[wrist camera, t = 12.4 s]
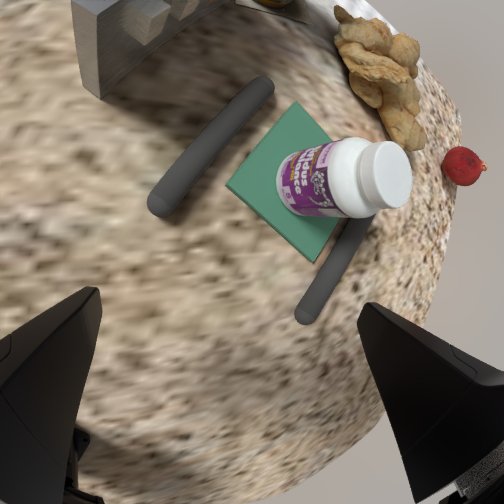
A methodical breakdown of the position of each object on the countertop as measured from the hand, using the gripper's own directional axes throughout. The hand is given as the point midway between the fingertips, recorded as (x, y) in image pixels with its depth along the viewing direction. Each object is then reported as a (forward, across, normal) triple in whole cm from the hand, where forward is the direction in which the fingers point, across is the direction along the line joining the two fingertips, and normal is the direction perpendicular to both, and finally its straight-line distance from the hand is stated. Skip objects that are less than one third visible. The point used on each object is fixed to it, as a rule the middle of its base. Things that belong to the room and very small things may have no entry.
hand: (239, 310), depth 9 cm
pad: (+16, -7, -2) cm, 18 cm away
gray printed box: (+17, +6, -13) cm, 22 cm away
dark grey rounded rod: (+15, -11, +5) cm, 19 cm away
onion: (+26, -32, -7) cm, 42 cm away
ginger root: (+24, -15, -15) cm, 32 cm away
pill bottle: (+16, -6, -1) cm, 17 cm away
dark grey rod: (+15, +1, -4) cm, 15 cm away
